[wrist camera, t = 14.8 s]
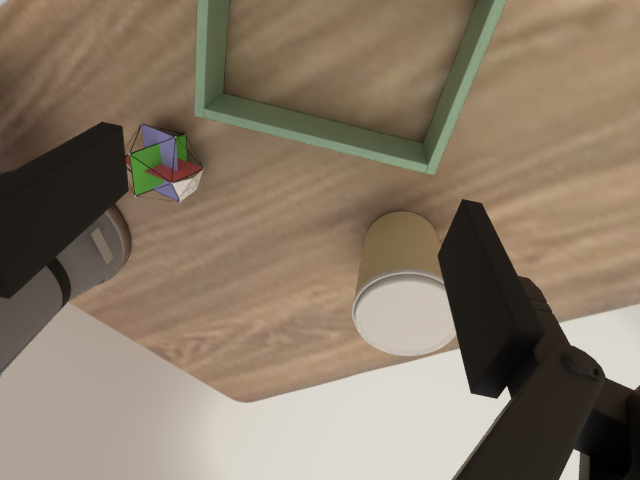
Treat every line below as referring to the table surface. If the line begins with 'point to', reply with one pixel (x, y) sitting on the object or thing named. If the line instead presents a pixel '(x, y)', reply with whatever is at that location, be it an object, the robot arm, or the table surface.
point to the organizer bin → (326, 131)
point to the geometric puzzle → (163, 165)
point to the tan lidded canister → (402, 287)
